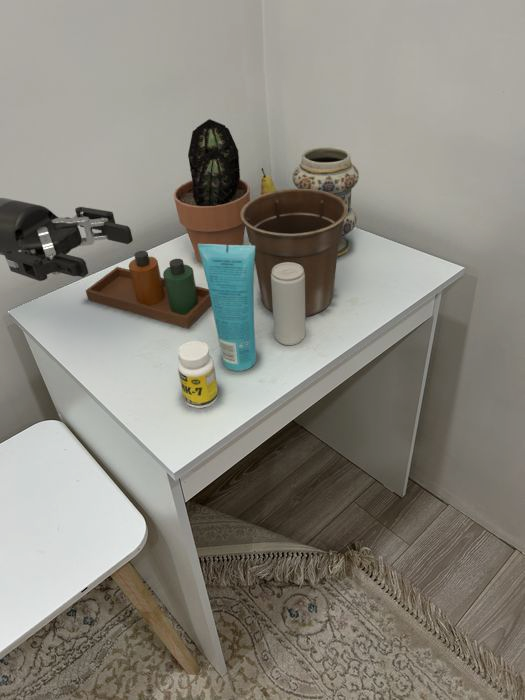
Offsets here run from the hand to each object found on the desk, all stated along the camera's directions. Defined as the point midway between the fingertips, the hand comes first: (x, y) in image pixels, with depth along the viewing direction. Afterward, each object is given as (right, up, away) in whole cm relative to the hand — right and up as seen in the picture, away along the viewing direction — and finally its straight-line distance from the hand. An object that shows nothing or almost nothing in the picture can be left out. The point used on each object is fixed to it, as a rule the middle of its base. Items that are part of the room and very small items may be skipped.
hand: (108, 251), depth 66 cm
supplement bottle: (+10, -19, +9) cm, 23 cm away
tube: (+15, -14, +15) cm, 25 cm away
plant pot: (+25, -3, +27) cm, 36 cm away
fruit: (+21, +16, +51) cm, 57 cm away
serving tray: (0, -3, +28) cm, 29 cm away
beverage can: (+23, -10, +18) cm, 31 cm away
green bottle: (+6, -5, +25) cm, 26 cm away
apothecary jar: (+31, +8, +40) cm, 51 cm away
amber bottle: (-1, -3, +28) cm, 28 cm away
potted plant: (+11, +6, +39) cm, 41 cm away
